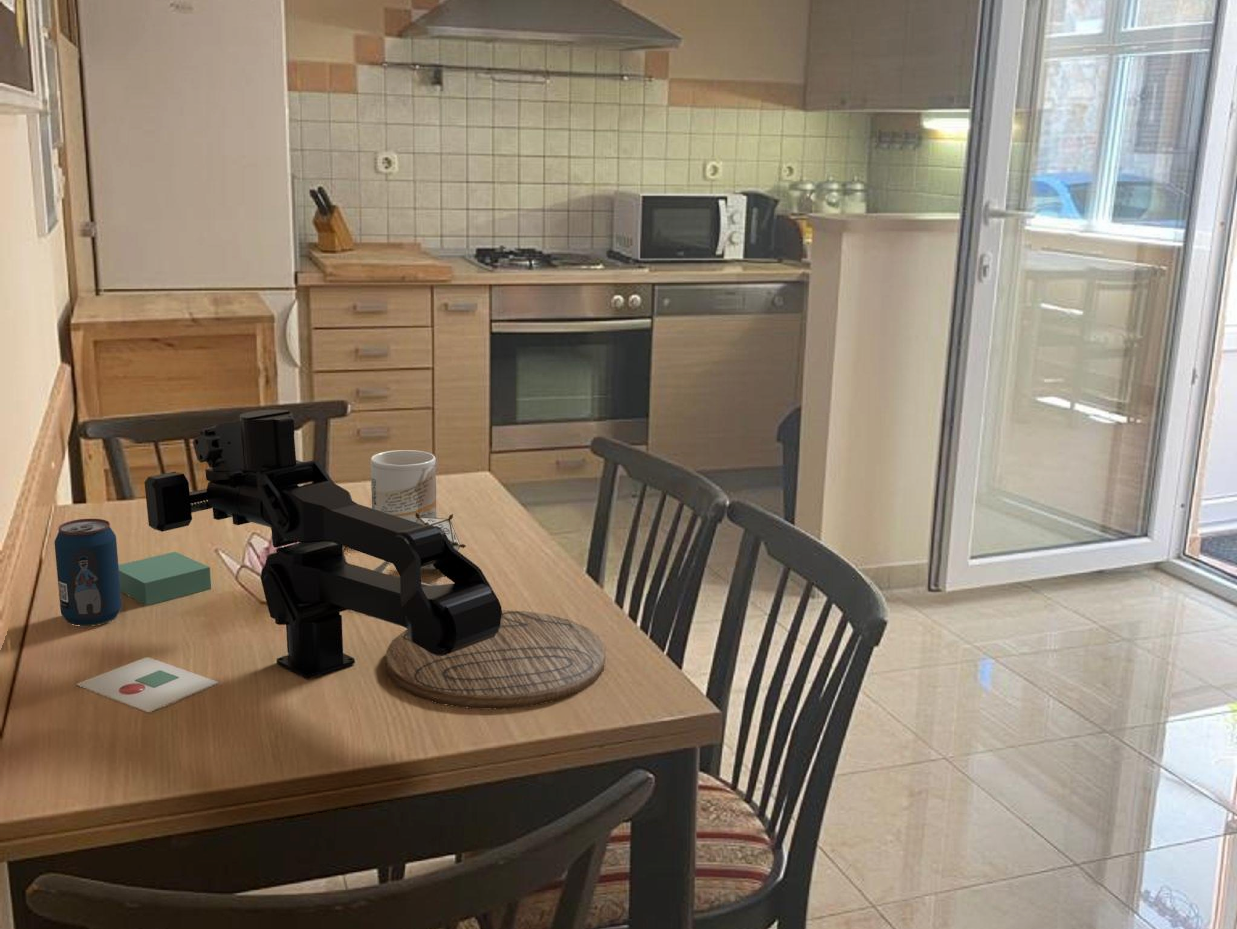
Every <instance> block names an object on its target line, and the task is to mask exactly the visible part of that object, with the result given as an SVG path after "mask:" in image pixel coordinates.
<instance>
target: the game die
mask: <svg viewBox="0 0 1237 929" xmlns="http://www.w3.org/2000/svg"><path fill="white" fill-rule="evenodd" d="M415 516H416V517H417V518H418V519H417V520H416V523H419V524H422V525H432V526H438V527H439V528H441V529H442V530H443V531H444V533H445V534H446V536H447V538H448V539H449V541H450V543H451V544H452V546H453V548H454V549H456V550H457V551H458V552H459V550H460V548H462V549H464V548H466V547H467V545H465V544H464V543H460V540H459V538H458V536H457V533H456V530H455V528H454V526H453V524H452V521H451V520H452V519H453V518H454V513H451V514H449V516H448V518H438V517H436V518H423V517H420V515H419V514H418V513H416V515H415ZM421 570H437V569H436V568H435V567H434V566H433V564H432V565H429V566H426V567H422V568H421ZM437 571H438V570H437Z"/></svg>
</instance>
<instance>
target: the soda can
mask: <svg viewBox="0 0 1237 929" xmlns="http://www.w3.org/2000/svg"><path fill="white" fill-rule="evenodd" d="M57 530H58V532H57V535H56V536H55V539H54V541H53V542H54V551H55V552H54V553H55V562H56V575H57V586H58V597H59V607H60V609H59V610H60V614H61V616H62V617H63V618H64V619H65V620H66V622H67V623H68V624H69V623H70V624H69V625H71V624H74V625H80V626H91V627H93V626H92V625H98V624H102V625H104V624H103V623H106V624H108V623H107V622H109V621H111V622H113V621H114V620H115V619H116V618H117V616H118V615H119V613H120V612H121V609H122V606H123V604H122V593H121V590H120V578H119V566H118V565H119V556H118V555H119V554H118V546H117V545H118V542H117V536H116V534H115V532H114V530H113V529H112V527H111V523H110V521H108V520H106V519H100V518H79V519H75V520H74V519H73V520H69V521H66V522H64V523H61V524H60V525H59V526H58V529H57ZM112 620H113V621H112ZM109 623H110V622H109ZM98 626H99V625H98Z"/></svg>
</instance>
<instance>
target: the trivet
mask: <svg viewBox="0 0 1237 929" xmlns="http://www.w3.org/2000/svg"><path fill="white" fill-rule="evenodd" d="M385 653H386V657H385V658H386V669H387V676H388V678H390V680H391V681H392V682H393V683H394V685H396V687H397V688H398V689H401V690H402V691H404V692H407V693H408V694H409V695H411V696H414V697H416V698H418V699H422V700H426V701H428V700H429V701H428V702H431V701H433V702H432V703H434V702H436V703H435V704H438V703H439V704H440V705H443V704H447V705H446V706H450V705H453V706H452V707H456V706H458V707H457V708H463V707H465V709H478V708H491V709H490V710H501V709H502V710H503V708H505V709H513V708H512V707H518V708H525V706H529V707H532V706H531V705H534V706H537V705H536V704H539V705H542V704H541V703H544V704H546V703H545V702H548V703H551V702H550V701H553V702H556V701H560V700H562V698H563V699H564V698H568V697H571V696H574V695H576V694H578V692H579V693H580V692H583V689H584V688H585V689H587V688H588V687H590V686H592V685H593V684H595V683H596V682H597V681H598V679H599V678H600V677H601V676H602V674H603V673H604V672H603V671H605V664H606V662H605V661H606V646H605V645H604V643H603V641H602V639H601V638H600V636H599V635H598V634H596V633H595V632H594V631H592V630H591V629H590V628H589V627H587V626H584V625H582V624H581V623H577V622H575V621H572V620H570V619H568V618H563V617H559V616H555V615H551V614H546V613H540V612H533V611H526V610H502V616H501V624H500V628H499V630H498V632H497V634H496V635H495V637H493V638H490V639H487V640H485V641H482V642H479V643H477V644H474V645H471V646H469V647H466V648H463V649H460V650H458V651H455V652H452V653H450V654H447V655H444V656H436V655H434V654H432V653H430V652H428V651H427V650H425V649H423V648H421V647H420V646H418V645H416V644H414V643H413V642H412V641H411V638H410V635H409V633H408V630H407V629H405V630H404V631H402V632H401V633H400V634H398V635H397V636H396V637H395V638H393V639H392V640H391V642H390V644H389V646H388V647H387V650H386V652H385ZM602 672H603V673H602ZM599 676H600V677H599ZM595 681H596V682H595ZM594 682H595V683H594ZM591 684H592V685H591ZM589 685H590V686H589ZM586 687H587V688H586ZM585 689H584V690H585ZM573 694H574V695H573ZM570 695H571V696H570ZM559 699H560V700H559ZM439 704H438V705H439ZM466 707H468V708H466ZM494 708H496V709H494Z"/></svg>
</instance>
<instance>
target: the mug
mask: <svg viewBox="0 0 1237 929" xmlns="http://www.w3.org/2000/svg"><path fill="white" fill-rule="evenodd" d="M436 460H437V459H436V456H435V455H434V454H433V453H430V452H427V451H422V450H414V449H413V450H412V449H409V450H408V449H401V450H400V449H399V450H397V449H396V450H388V451H383V452H379V453H375V454H373V455H372V456H371V457H370V484H371V486H370V488H371V489H370V490H371V492H370V493H371V508H372V509H375V510H378V511H381V512H384V513H388V514H391V515H394V516H397V517H400V518H403V519H406V520H409V521H413V522H416V520H417V519H418V518H417V517H416V516H415V515H416V513H418V514H419V515H420V517H423V518H437V473H436V472H437V470H436V469H437V468H436V467H437V464H436V462H437V461H436Z"/></svg>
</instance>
